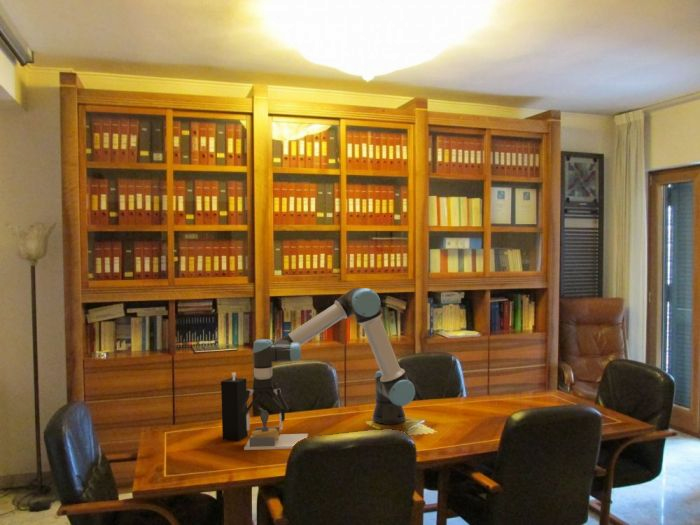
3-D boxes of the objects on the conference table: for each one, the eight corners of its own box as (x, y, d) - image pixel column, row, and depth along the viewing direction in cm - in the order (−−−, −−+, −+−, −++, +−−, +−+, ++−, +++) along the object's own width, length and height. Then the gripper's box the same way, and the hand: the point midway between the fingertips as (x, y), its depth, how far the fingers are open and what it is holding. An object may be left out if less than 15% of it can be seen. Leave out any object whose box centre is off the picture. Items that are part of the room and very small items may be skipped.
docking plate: (307, 436, 233) (307, 425, 233) (304, 448, 217) (304, 436, 217) (251, 437, 233) (251, 426, 233) (244, 450, 217) (244, 438, 217)
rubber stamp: (274, 436, 229) (273, 407, 230) (278, 439, 224) (277, 410, 225) (251, 440, 225) (250, 410, 226) (255, 443, 220) (254, 413, 220)
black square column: (248, 435, 235) (246, 370, 235) (238, 441, 228) (236, 374, 228) (232, 434, 238) (230, 370, 238) (222, 440, 230) (220, 373, 231)
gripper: (294, 374, 229) (295, 425, 228) (235, 376, 229) (236, 427, 228) (292, 378, 221) (293, 431, 221) (231, 380, 221) (232, 432, 221)
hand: (264, 429), depth 225 cm, fingers open, 13 cm apart
